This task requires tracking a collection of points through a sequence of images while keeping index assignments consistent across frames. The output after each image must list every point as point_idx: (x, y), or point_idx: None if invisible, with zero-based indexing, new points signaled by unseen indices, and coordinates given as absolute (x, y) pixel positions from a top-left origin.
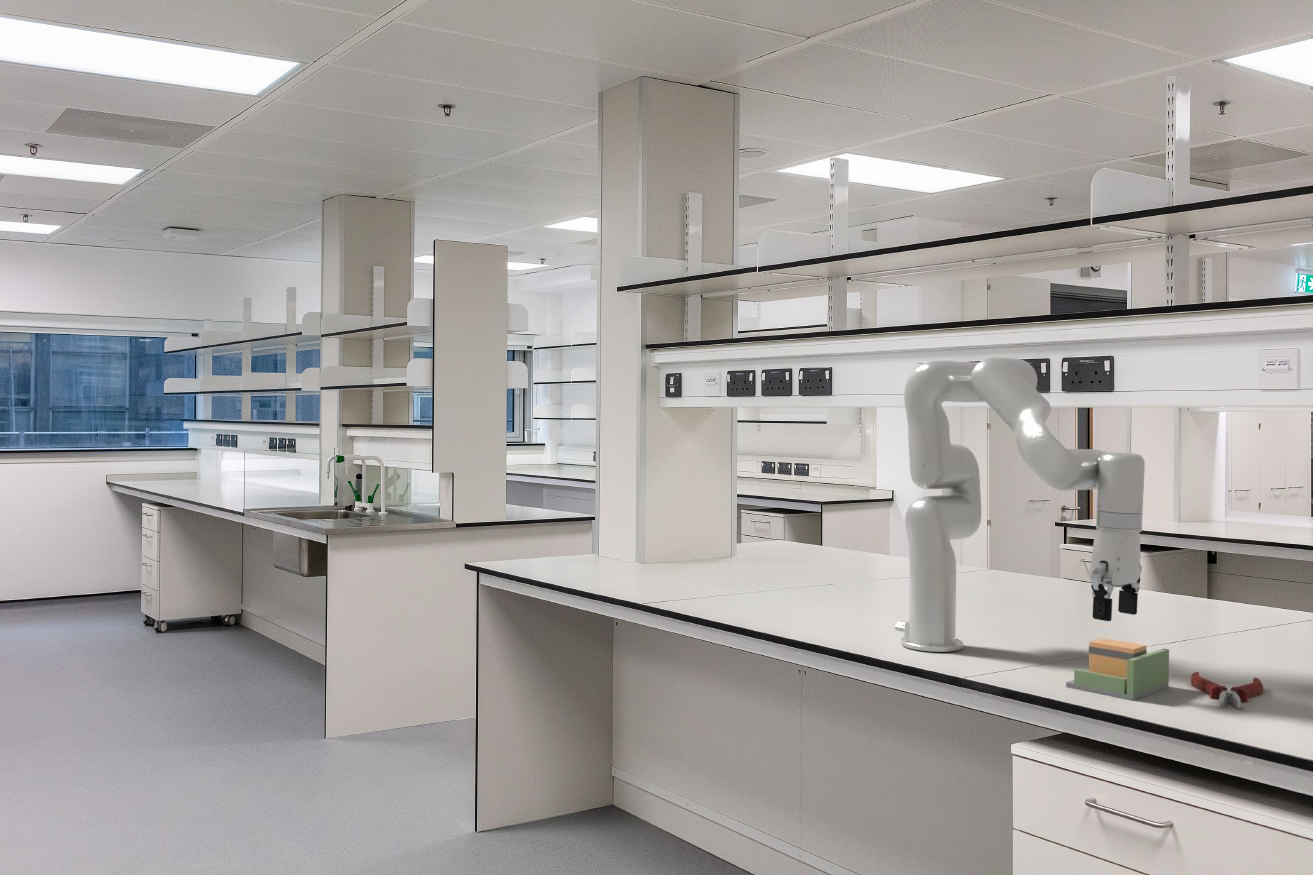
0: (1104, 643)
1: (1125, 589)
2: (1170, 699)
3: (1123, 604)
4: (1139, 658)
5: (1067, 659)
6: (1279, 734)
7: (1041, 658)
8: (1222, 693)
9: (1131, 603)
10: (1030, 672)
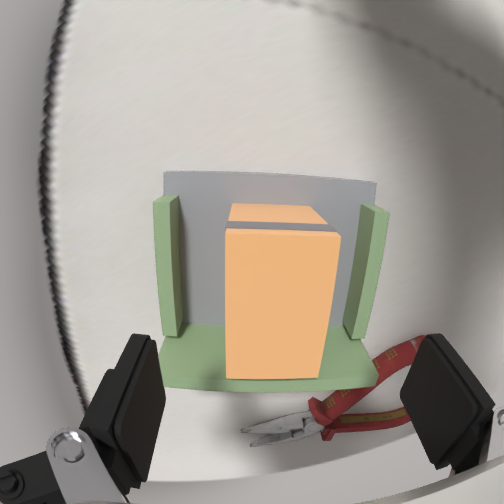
0: (240, 287)
1: (471, 441)
2: None
3: (433, 380)
4: (194, 387)
5: (451, 64)
6: (179, 471)
7: (415, 12)
8: (293, 427)
9: (420, 418)
10: (247, 34)
